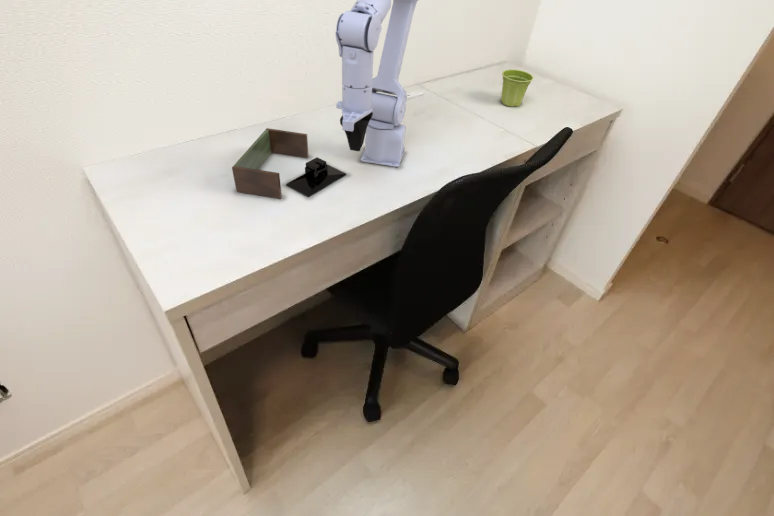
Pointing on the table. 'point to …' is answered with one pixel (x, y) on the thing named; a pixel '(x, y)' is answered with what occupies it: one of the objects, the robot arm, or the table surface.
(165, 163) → the table surface
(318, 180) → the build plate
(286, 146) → the stall
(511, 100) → the plant pot
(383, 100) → the robot arm
